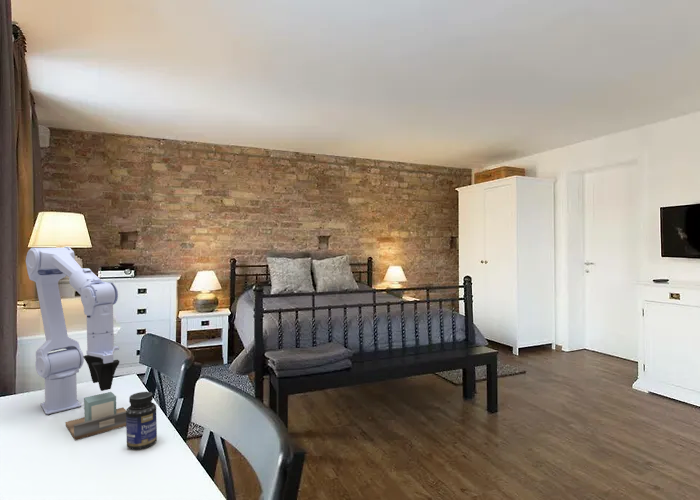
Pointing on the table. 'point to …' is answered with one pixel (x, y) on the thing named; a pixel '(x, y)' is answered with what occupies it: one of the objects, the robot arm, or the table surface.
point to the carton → (99, 406)
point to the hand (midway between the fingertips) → (101, 385)
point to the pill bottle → (141, 421)
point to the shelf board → (96, 424)
